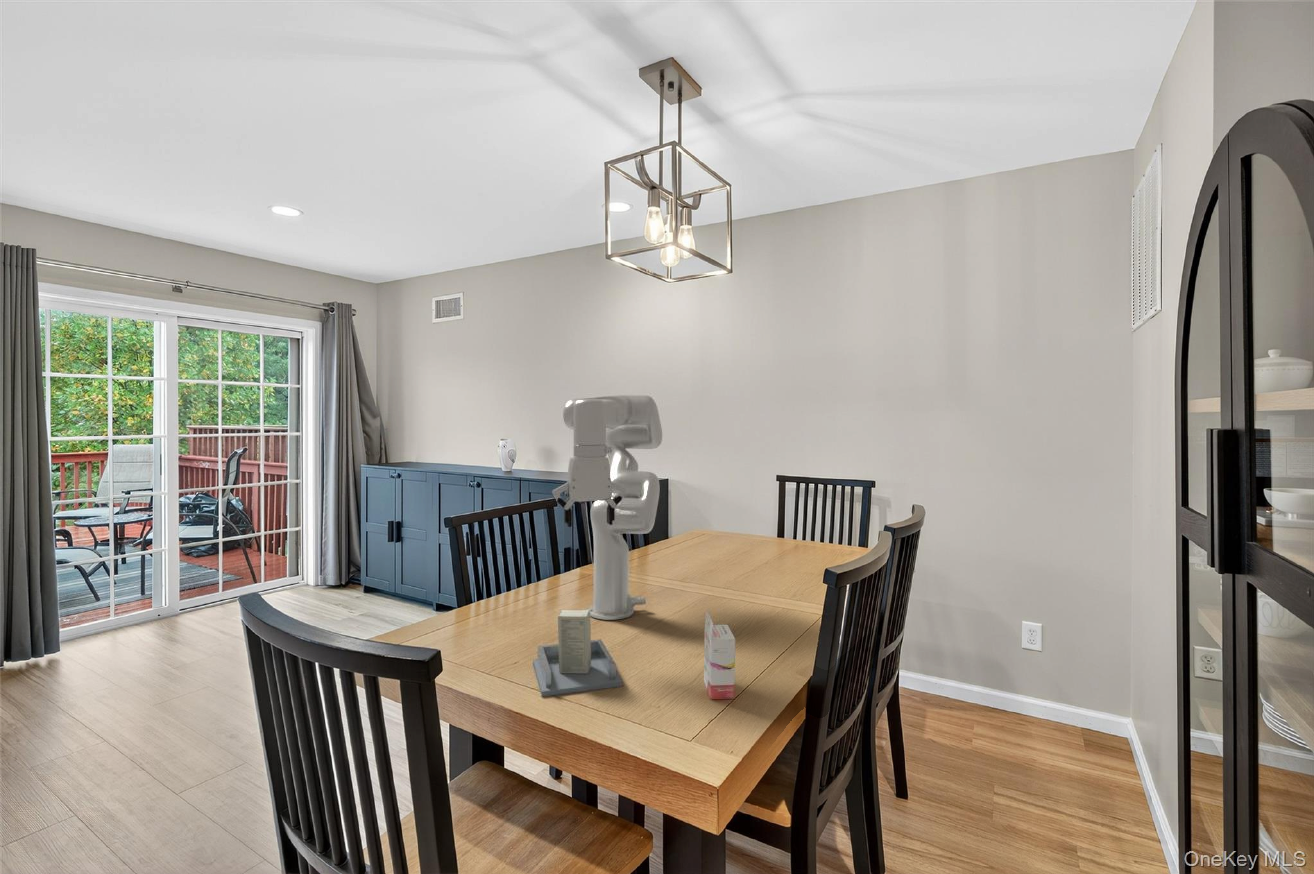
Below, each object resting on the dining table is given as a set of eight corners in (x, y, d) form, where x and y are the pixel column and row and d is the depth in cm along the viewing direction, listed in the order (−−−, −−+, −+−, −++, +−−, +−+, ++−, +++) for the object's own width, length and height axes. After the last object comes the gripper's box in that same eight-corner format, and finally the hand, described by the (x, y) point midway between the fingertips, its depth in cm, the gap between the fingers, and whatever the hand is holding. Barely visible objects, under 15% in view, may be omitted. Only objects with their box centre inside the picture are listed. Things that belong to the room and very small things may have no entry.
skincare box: (591, 665, 130) (591, 609, 129) (587, 674, 125) (587, 616, 125) (562, 664, 130) (562, 608, 130) (557, 673, 126) (557, 615, 125)
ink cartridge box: (735, 699, 117) (736, 623, 117) (710, 700, 117) (711, 624, 116) (727, 680, 126) (727, 609, 125) (703, 680, 125) (703, 609, 125)
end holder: (604, 655, 138) (604, 638, 138) (622, 686, 122) (622, 666, 122) (532, 663, 133) (532, 645, 133) (541, 696, 118) (541, 676, 117)
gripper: (621, 450, 149) (621, 520, 150) (550, 451, 144) (550, 524, 144) (629, 452, 142) (629, 526, 143) (554, 454, 137) (554, 529, 137)
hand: (589, 524), depth 144 cm, fingers open, 9 cm apart
